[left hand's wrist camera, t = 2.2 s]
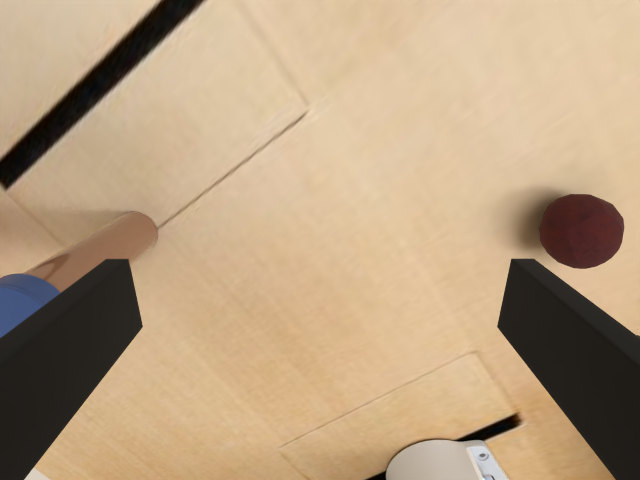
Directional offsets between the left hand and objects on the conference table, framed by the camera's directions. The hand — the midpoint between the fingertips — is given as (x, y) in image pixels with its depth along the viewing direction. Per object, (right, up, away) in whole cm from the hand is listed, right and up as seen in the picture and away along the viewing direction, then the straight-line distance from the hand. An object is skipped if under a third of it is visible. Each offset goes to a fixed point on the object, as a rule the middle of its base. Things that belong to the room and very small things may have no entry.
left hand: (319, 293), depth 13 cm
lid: (-21, -4, +12) cm, 24 cm away
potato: (+27, +4, +28) cm, 39 cm away
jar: (-21, +3, +29) cm, 36 cm away
